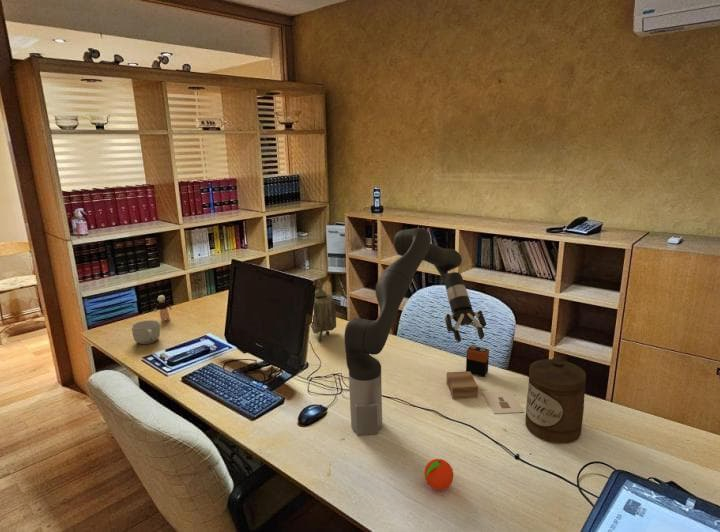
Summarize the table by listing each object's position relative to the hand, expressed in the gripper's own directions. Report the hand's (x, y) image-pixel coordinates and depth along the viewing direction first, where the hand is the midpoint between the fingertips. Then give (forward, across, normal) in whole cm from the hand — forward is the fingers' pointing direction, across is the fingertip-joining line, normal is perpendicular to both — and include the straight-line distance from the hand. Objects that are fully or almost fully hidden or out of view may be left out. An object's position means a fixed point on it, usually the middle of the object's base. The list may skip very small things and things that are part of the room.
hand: (470, 340), depth 169 cm
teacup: (-31, -121, +46) cm, 133 cm away
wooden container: (+36, +7, -21) cm, 42 cm away
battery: (+11, 0, +4) cm, 12 cm away
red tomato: (+46, -33, -31) cm, 64 cm away
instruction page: (+25, 0, -10) cm, 27 cm away
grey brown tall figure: (-22, -48, +36) cm, 64 cm away
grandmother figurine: (-48, -119, +62) cm, 143 cm away
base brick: (+18, -10, -3) cm, 20 cm away
